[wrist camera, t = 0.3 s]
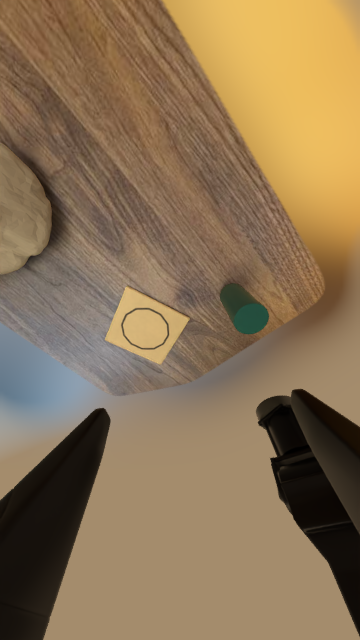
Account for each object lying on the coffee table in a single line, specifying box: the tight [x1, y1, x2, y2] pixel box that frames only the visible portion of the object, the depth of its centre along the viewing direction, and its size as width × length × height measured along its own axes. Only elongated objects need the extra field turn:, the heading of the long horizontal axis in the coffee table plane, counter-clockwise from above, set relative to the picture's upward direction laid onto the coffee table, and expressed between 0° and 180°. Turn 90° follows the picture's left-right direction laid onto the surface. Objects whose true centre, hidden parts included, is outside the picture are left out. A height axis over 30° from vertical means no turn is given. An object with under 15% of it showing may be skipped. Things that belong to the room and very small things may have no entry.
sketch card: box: [105, 286, 190, 365], centre depth 26 cm, size 10×10×1 cm
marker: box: [220, 283, 269, 334], centre depth 20 cm, size 3×3×8 cm
